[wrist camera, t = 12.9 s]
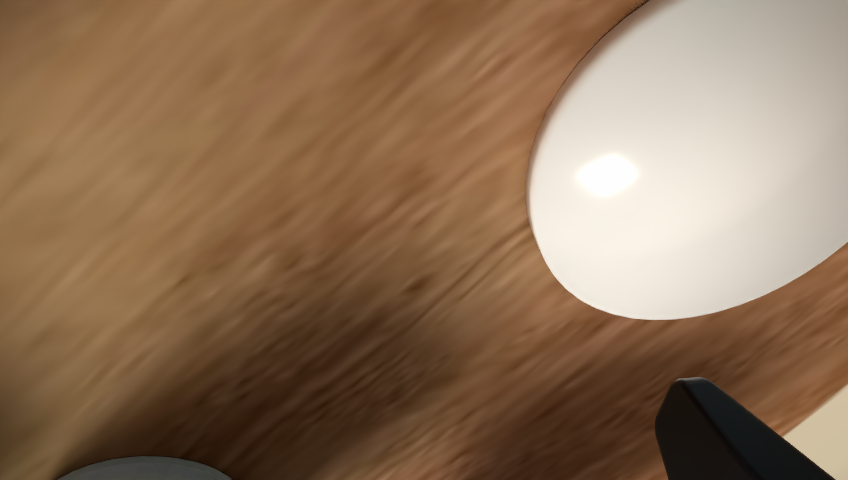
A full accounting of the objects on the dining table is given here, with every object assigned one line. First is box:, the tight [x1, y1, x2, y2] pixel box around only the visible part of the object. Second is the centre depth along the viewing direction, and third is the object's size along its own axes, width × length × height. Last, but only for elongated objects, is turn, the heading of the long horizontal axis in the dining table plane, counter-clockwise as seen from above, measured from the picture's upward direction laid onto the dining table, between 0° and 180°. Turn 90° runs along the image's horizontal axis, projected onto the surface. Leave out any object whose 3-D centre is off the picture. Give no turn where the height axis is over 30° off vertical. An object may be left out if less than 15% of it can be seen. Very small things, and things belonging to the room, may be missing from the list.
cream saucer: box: [525, 0, 848, 320], centre depth 25 cm, size 13×13×1 cm
